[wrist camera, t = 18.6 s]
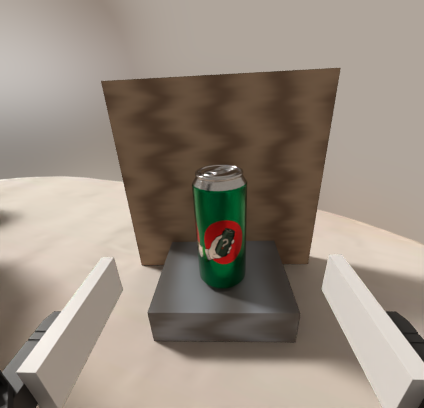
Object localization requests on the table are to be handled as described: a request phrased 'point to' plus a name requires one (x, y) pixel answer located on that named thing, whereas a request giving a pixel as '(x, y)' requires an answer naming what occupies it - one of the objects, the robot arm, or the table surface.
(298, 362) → the table surface
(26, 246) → the table surface
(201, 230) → the soda can
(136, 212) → the wall board
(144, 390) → the table surface
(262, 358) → the table surface
